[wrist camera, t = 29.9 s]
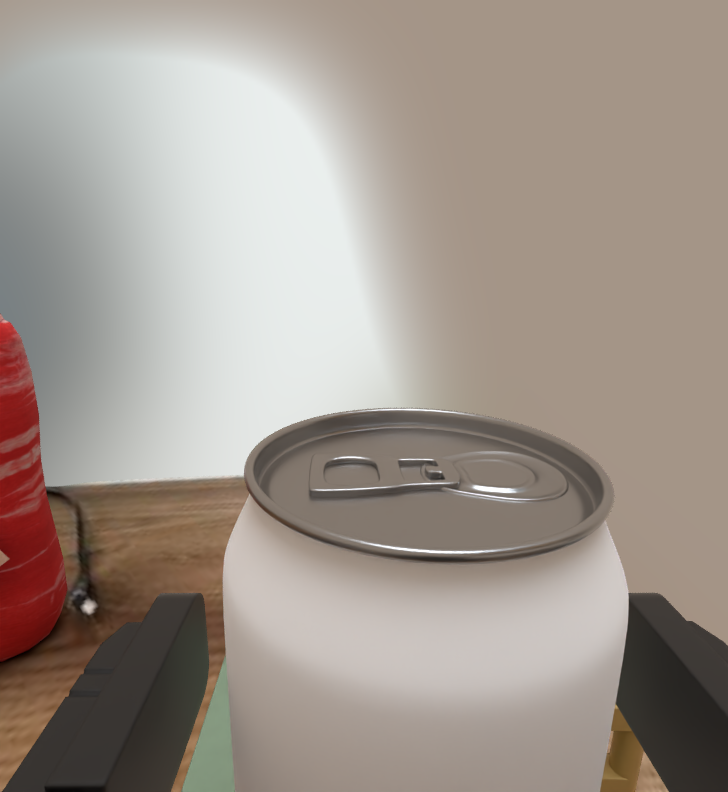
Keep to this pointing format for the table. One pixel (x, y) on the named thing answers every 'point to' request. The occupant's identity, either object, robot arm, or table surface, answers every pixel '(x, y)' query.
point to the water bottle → (24, 511)
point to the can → (422, 608)
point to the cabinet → (213, 746)
